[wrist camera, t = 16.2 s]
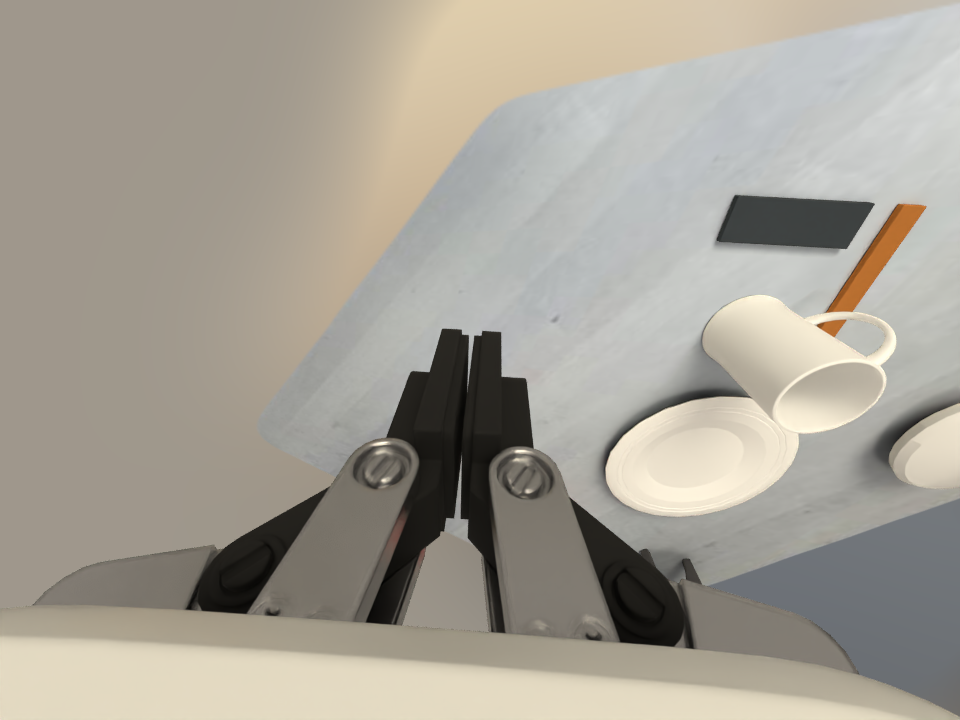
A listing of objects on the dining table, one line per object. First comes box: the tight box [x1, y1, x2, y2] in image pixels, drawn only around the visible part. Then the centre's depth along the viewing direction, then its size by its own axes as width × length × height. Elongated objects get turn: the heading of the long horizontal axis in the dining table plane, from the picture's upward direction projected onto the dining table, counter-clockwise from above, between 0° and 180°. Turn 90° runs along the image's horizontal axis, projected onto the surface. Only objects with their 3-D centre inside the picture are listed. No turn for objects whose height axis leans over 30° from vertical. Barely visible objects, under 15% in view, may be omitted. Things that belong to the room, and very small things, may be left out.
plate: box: [605, 396, 799, 517], centre depth 49 cm, size 25×25×2 cm
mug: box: [702, 295, 896, 434], centre depth 33 cm, size 12×8×12 cm
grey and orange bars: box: [717, 195, 926, 337], centre depth 36 cm, size 18×16×1 cm
